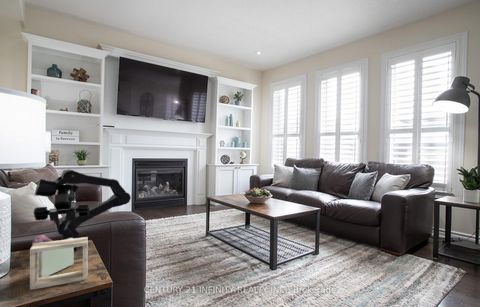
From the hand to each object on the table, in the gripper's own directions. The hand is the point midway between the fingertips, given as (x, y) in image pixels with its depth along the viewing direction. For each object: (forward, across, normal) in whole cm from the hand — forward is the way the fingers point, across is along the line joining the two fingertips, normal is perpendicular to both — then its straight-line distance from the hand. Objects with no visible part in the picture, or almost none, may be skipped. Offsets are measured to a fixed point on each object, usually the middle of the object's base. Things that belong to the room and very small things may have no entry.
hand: (61, 230), depth 105 cm
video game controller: (-5, -9, +23) cm, 25 cm away
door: (+15, -1, +3) cm, 15 cm away
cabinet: (+21, +2, -3) cm, 21 cm away
